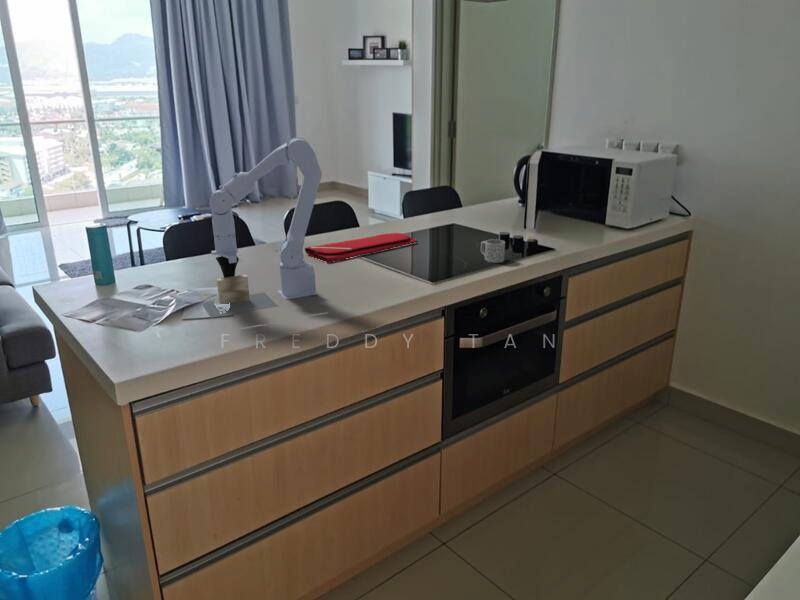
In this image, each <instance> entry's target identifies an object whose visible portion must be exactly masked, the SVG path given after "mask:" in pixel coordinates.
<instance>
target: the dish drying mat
mask: <svg viewBox="0 0 800 600" xmlns="http://www.w3.org/2000/svg"><path fill="white" fill-rule="evenodd" d="M414 242H417V243H418V241H417V239H415V238H412V237H410V235H407V234H405V233H399V232H393V233H382V234H377V235H373V236H366V237H362V238H357V239H350V240H349V239H348V240H344V241H339V242H333V243H327V244H326V243H325V244H322V245H321V244H320V245H314V246H307V247H305V248H304V252H305V253H306V254H307V255H308V257H310V256H311V257H310V258H312V257H314V258H313V259H315V258H317V259H320V260H323V261H326V262H327V263H326V264H330V263H329V262H332V263H334V262H333V261H337V262H339V261H338V260H342V261H344V260H343V259H346V258H350V257H354V256H358V255H362V254H367V253H373V252H377V251H381V250H385V249H390V248H393V247H398V246H402V245H406V244H410V243H414ZM317 259H316V260H317ZM320 260H319V261H320ZM323 261H322V262H323Z"/></svg>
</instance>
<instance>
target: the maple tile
mask: <svg viewBox="0 0 800 600" xmlns="http://www.w3.org/2000/svg"><path fill="white" fill-rule="evenodd" d="M248 279H249V277H248V275H247V274H240V275H235V276H232V277H226V278H224V277H220V278H216V285H217V293H218V300H219V303H220V304H229V303H235V302H241V301H247V300H250V297H249V295H250V288H249V280H248Z"/></svg>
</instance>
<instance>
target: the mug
mask: <svg viewBox="0 0 800 600" xmlns="http://www.w3.org/2000/svg"><path fill="white" fill-rule="evenodd" d="M484 248H485V249H484ZM505 251H506V241H505V240H502V239H498V238H495V239H494V238H493V239H487V240H483V241H481V242H480V253H481V254H482V255H483V256H484V261H485V260H486V261H487V263H490V262H492V263H491V264H494V263H495V264H499V263H500V264H501V263H503V262H505ZM486 261H485V262H486Z"/></svg>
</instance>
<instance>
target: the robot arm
mask: <svg viewBox="0 0 800 600" xmlns="http://www.w3.org/2000/svg"><path fill="white" fill-rule="evenodd" d="M289 160H290V161H291V163H293V164H294V165H295V166H296V167H298V169H299V171H300V172H301V174H302V176H303V177H302V181H301V185H300V190H299V193H298V196H297V200H296V204H295V207H294V212H293V215H292V219H291V222H290V226H289V229H288V232H287V234H286V236H285V239H284V240H283V241H282V243H281V244H280V247H279V250H280V260H281V262H280V263H279V270H280V271H279V274H280V285H281V289H279V290H277V293H278V294H279V295H280V296H281V297H282V298H283V299H284V300H291V299H292V300H293V299H297V298H303V297H308V296H309V297H312V296H316V295H317V294H318V293H317V289H316V287H317V286H316V275H315V274H316V273H315V268H314V266H313V264H312V263H311V262H306V260H304V251H303V248H304V244H305V239H306V238H305V237H306V234H307V230H308V226H309V224H310V220H311V215H312V213H313V209H314V205H315V202H316V197H317V194H318V191H319V187H320V183H321V179H322V176H323V175H322V171H321V167H320V165H319V161H318V158H317V155H316V153H315V151H314V149H313V148H312V146H311V145H310V144H309V142H308V141H307V139H305V138H302V137H301V136H299V137H298V136H297V137H293V138H291V139H290V140H289V141H288V143H287V142H285V143H283V144H282V145H280V146H279V147H277V148H275V149H274V150H273V151H272V152H270V153H269V154H268V155H267V156H266V157H265V158H263V159H262V160H261V161H260V162H259V163H257V164H256V165H255V166H254V167H253V168H251V169H250V170H249V171H240V172H235V173H233V174H232V178H231V179H230V180H228V181H227V182H226V183H225V184H223V185H222V184H221V185H218V186H219V187H218V189H217V190H215V191H214V192H213V193H211V196H210V197H209V201H208V204H209V205H208V206H209V208H210V209H211V216H212V218H211V222H212V224H211V225H212V231H213V239H214V249H215V250H211V251H210V253H211V255H213V256H216V255H217V256H216V257H215V260H216V261H217V263H218V265H219V267H220V269H221V272H222V276H223V278H226V277H232V276H236V269H237V265H238V263H239V260H240V258H239V257H238V255H237V254H238V252H239V250H238V248H237V247H238V246H237V239H236V227H235V219H234V216H233V209H232V207H233V205H234V204H238V203H239V202H240V201H241V200H242V199H244V198H245V197H246V196H247V195H249V194H250V193H251V192H253V191H254V190H255V189H256V183H257V182H258V181H259V180H260V179H262V178H263V177H264V176H265V175H267V174H268V173H270V172H271V171H272V170H274V169H275V168H276V167H278V166H280V165H281V166H282V165H289V164H290V161H289Z"/></svg>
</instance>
